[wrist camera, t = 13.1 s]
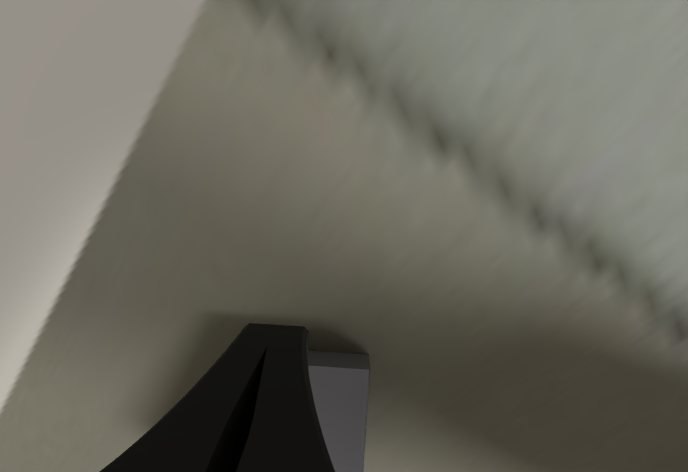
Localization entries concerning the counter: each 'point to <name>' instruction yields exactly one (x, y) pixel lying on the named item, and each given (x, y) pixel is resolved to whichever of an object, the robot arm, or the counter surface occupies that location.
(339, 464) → the domino
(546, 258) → the counter surface
